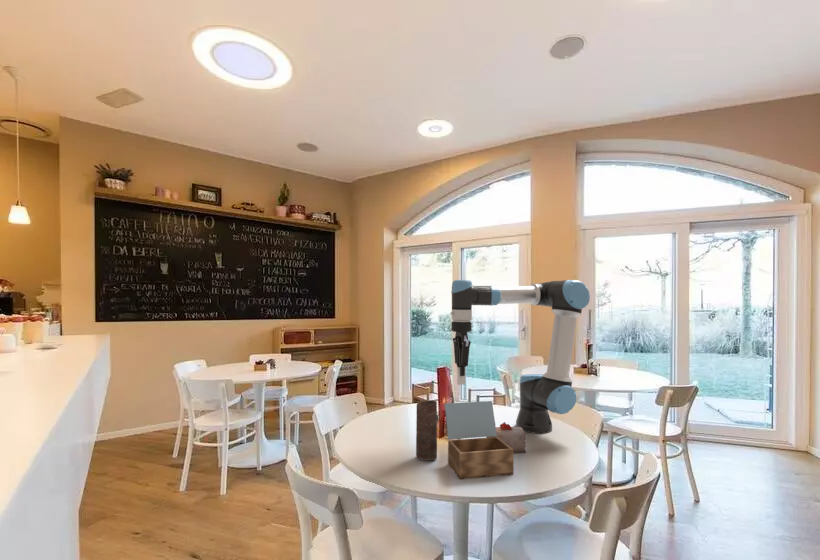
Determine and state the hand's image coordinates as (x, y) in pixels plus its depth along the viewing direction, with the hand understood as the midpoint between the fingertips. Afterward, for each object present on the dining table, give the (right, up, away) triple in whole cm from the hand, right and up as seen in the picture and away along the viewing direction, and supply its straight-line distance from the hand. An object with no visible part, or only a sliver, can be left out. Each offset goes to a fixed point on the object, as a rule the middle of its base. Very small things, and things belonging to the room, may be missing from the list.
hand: (461, 384), depth 154 cm
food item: (+16, -25, -1) cm, 30 cm away
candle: (-13, -24, -10) cm, 29 cm away
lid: (+2, -10, -10) cm, 14 cm away
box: (+4, -23, -18) cm, 30 cm away
